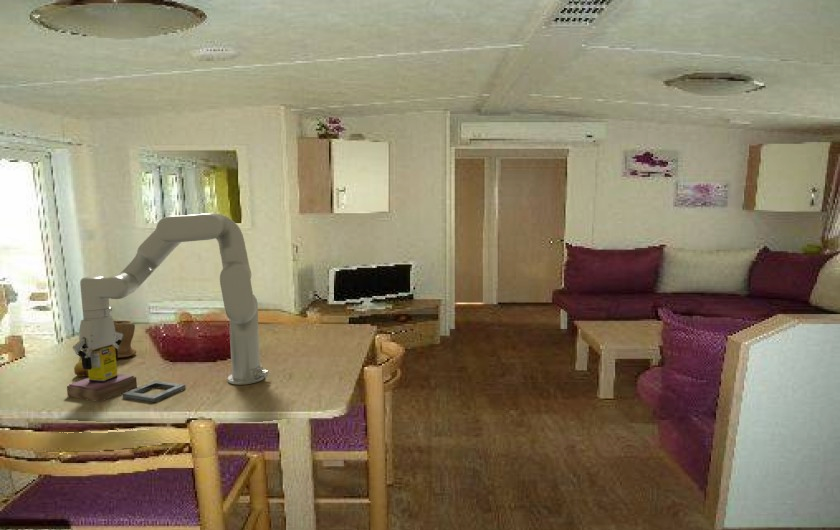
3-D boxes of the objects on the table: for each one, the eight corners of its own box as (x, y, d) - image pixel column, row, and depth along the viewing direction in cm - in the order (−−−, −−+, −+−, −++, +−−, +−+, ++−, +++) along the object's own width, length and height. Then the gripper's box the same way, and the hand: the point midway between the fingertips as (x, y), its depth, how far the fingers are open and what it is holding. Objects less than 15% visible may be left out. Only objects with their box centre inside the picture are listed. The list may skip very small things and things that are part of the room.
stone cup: (143, 352, 219) (140, 317, 217) (127, 360, 207) (124, 324, 205) (107, 352, 219) (104, 317, 217) (89, 361, 207) (86, 324, 205)
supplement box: (118, 377, 175) (115, 345, 173) (103, 383, 169) (100, 350, 168) (103, 376, 176) (100, 344, 175) (88, 382, 170) (85, 349, 169)
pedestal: (136, 386, 177) (136, 375, 176) (99, 401, 164) (98, 389, 163) (106, 382, 182) (105, 371, 181) (67, 396, 168) (66, 384, 168)
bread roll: (120, 370, 195) (118, 349, 194) (103, 379, 186) (102, 357, 185) (86, 370, 195) (84, 349, 194) (68, 379, 186) (66, 357, 185)
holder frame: (185, 388, 175) (185, 384, 174) (154, 403, 162) (153, 398, 162) (155, 384, 179) (155, 380, 179) (122, 398, 167) (122, 393, 166)
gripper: (111, 308, 179) (115, 356, 181) (62, 318, 163) (67, 371, 165) (127, 309, 176) (131, 358, 178) (80, 320, 160) (84, 373, 162)
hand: (100, 364), depth 172 cm, fingers open, 9 cm apart
